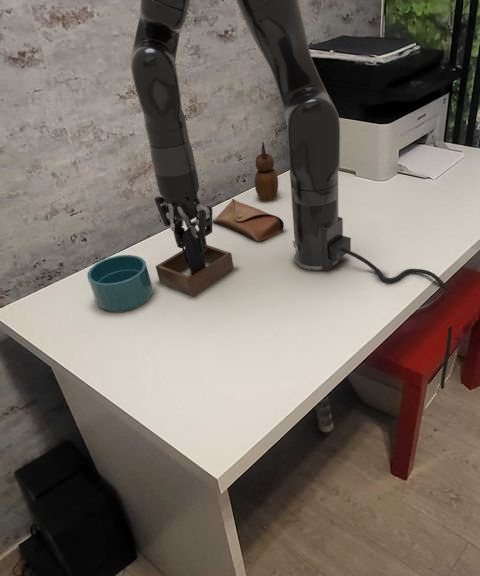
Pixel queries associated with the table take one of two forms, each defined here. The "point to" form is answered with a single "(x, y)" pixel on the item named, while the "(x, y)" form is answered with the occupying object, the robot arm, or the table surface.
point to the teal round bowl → (120, 283)
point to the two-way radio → (191, 252)
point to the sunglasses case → (250, 221)
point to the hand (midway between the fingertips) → (192, 249)
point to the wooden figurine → (265, 176)
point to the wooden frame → (200, 280)
